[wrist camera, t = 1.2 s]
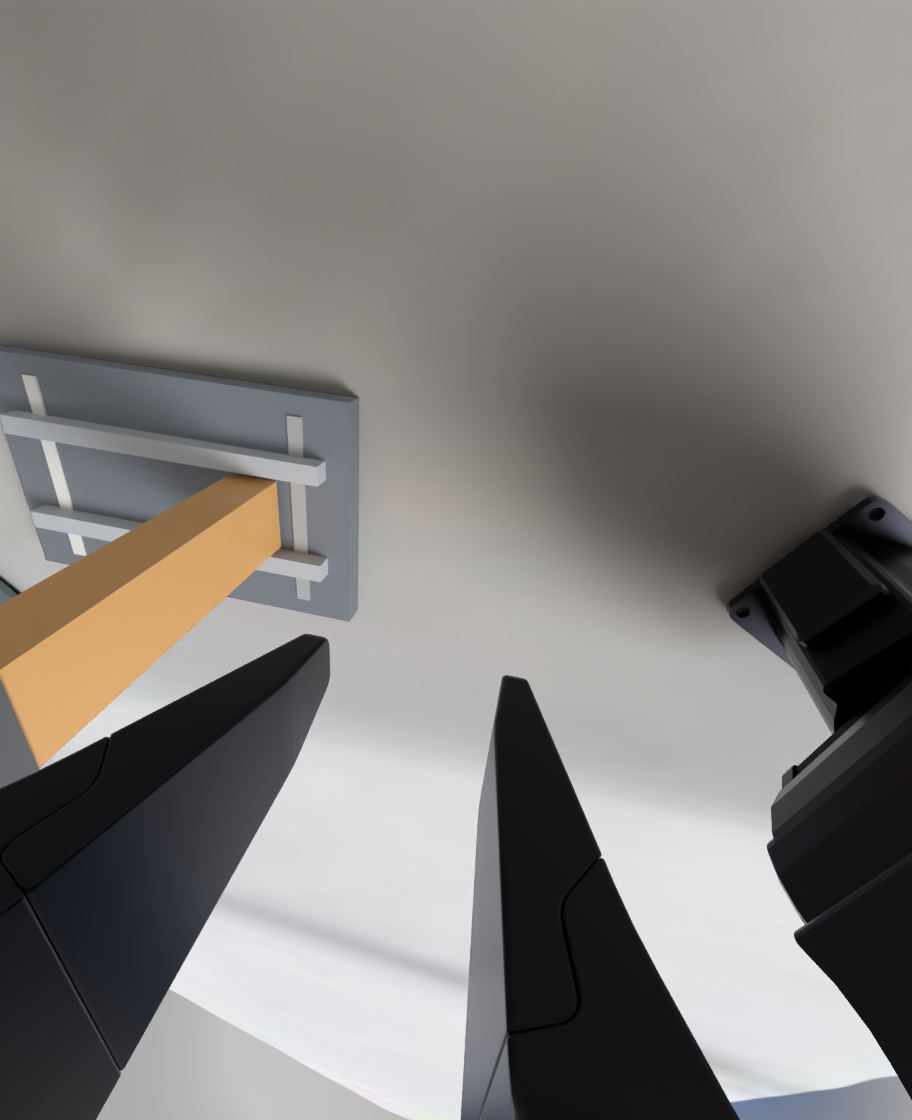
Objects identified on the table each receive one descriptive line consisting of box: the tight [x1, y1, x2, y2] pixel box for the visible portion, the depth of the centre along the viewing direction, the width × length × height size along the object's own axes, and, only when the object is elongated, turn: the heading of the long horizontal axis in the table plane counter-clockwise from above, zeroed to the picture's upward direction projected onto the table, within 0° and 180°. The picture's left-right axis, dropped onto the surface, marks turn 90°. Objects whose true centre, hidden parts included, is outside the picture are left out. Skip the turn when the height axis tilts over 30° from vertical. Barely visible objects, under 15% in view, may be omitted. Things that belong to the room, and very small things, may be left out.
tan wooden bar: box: [0, 474, 281, 788], centre depth 17 cm, size 2×3×13 cm
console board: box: [0, 345, 359, 622], centre depth 23 cm, size 16×10×2 cm, turn 84°
